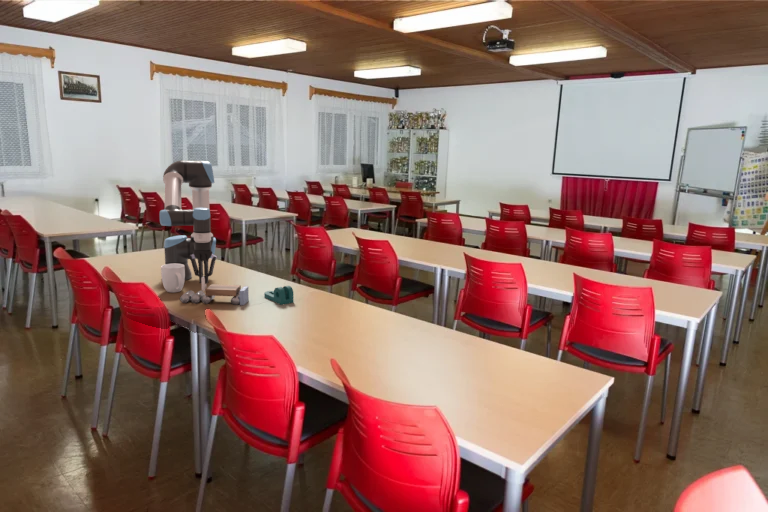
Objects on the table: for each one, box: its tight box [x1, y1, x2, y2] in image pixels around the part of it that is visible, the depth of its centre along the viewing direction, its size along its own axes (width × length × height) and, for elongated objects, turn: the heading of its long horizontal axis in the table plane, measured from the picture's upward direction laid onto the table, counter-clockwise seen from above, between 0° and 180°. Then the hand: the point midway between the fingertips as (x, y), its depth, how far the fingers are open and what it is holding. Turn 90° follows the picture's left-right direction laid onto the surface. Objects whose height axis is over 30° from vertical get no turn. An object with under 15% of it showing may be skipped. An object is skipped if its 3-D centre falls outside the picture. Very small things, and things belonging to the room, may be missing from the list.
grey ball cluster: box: [179, 289, 216, 305], centre depth 243 cm, size 8×14×4 cm, turn 90°
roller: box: [230, 293, 240, 306], centre depth 243 cm, size 8×4×4 cm, turn 0°
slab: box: [204, 283, 242, 297], centre depth 242 cm, size 9×14×3 cm, turn 90°
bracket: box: [263, 285, 294, 306], centre depth 250 cm, size 18×7×8 cm, turn 43°
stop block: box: [239, 285, 249, 306], centre depth 243 cm, size 8×2×7 cm, turn 0°
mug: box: [160, 263, 186, 293], centre depth 256 cm, size 15×11×13 cm
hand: (204, 290), depth 242 cm, fingers closed
